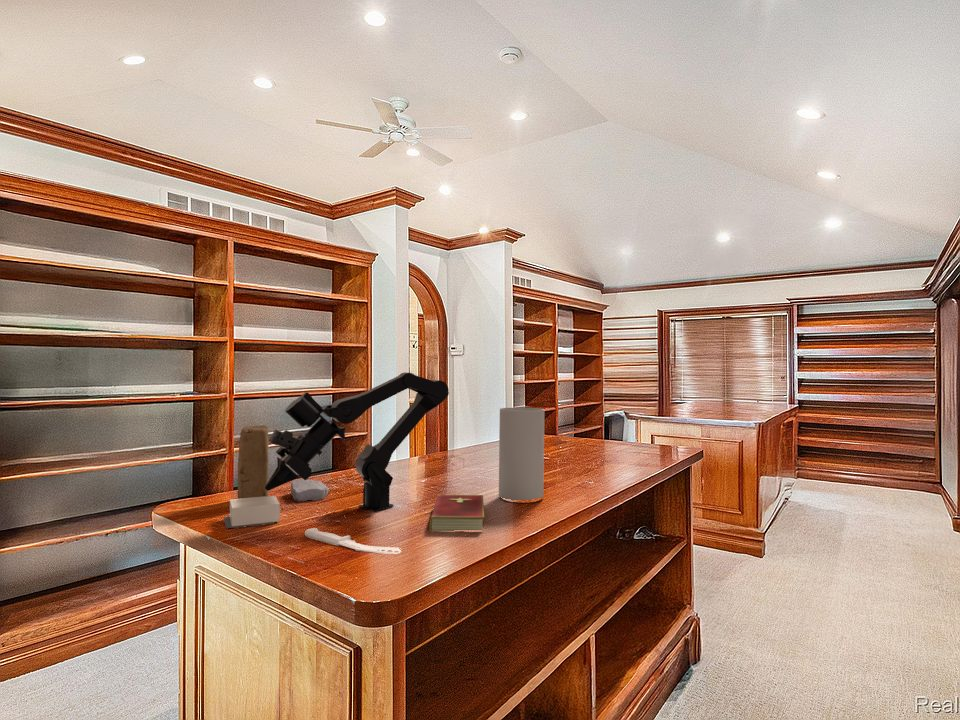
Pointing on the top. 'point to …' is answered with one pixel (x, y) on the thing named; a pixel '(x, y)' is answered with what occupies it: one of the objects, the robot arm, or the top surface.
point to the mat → (228, 525)
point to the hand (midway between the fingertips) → (266, 489)
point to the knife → (347, 542)
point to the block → (253, 462)
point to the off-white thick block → (254, 510)
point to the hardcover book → (457, 513)
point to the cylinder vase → (521, 453)
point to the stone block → (308, 490)
